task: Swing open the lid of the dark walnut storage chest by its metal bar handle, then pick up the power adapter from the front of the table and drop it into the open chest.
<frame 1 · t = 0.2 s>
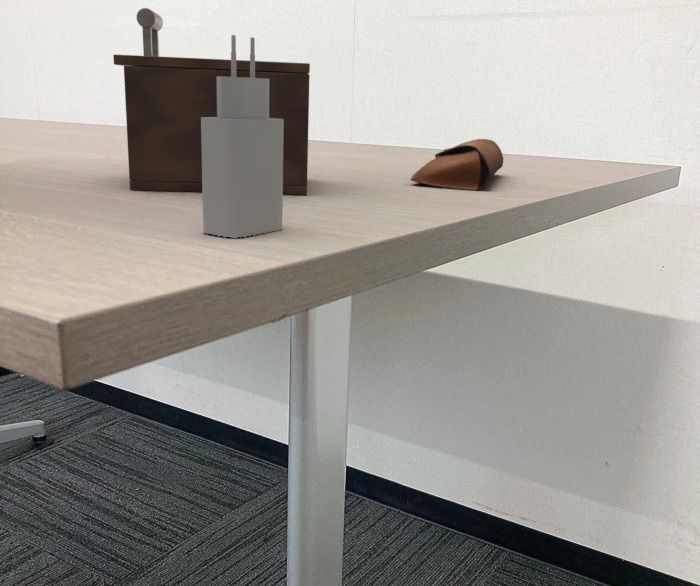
chest: (224, 184, 74), on the table
power adapter: (243, 233, 51), on the table
sunglasses case: (459, 182, 87), on the table
lid: (217, 42, 70), point 13 cm above the table, hinge at 0.0°
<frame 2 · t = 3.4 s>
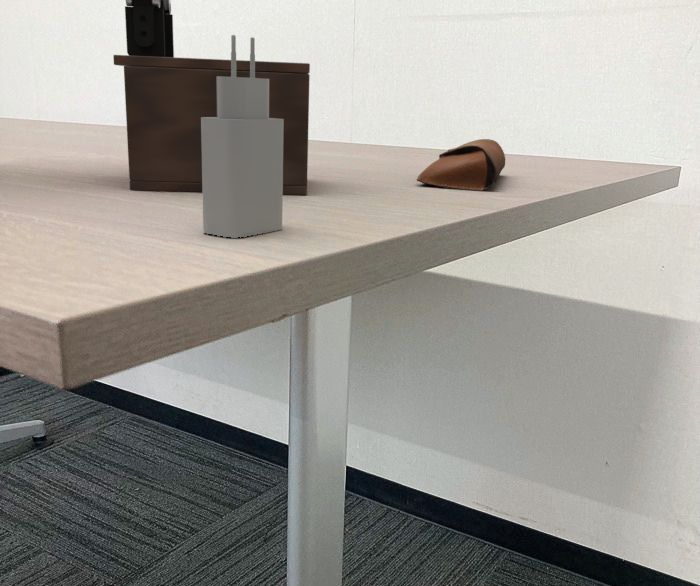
hand: (151, 56, 70), 11 cm above the table, tool pointing down, fingers closed on lid, 5 cm apart
lid: (217, 42, 70), point 13 cm above the table, hinge at -0.1°, touching gripper
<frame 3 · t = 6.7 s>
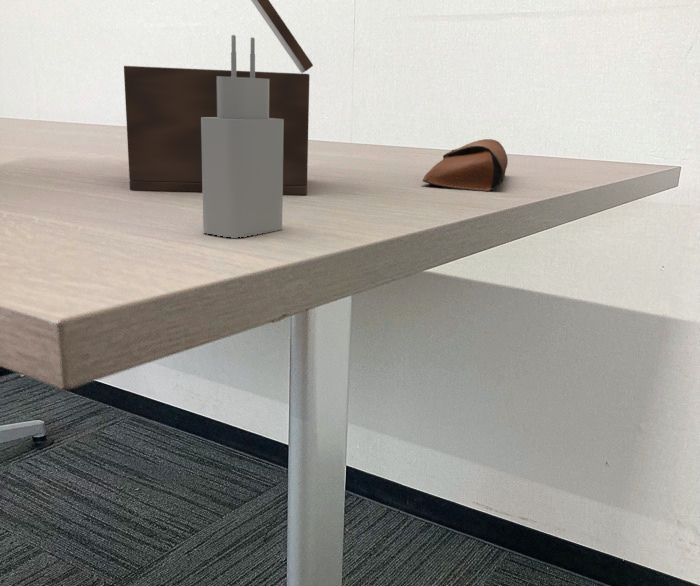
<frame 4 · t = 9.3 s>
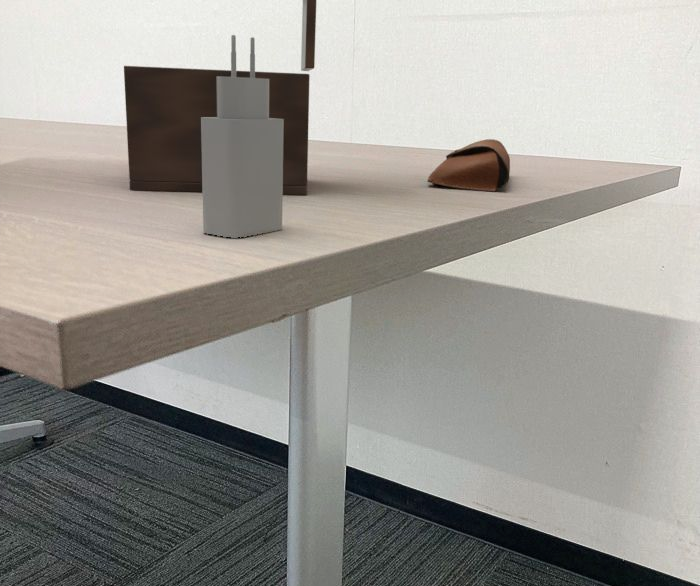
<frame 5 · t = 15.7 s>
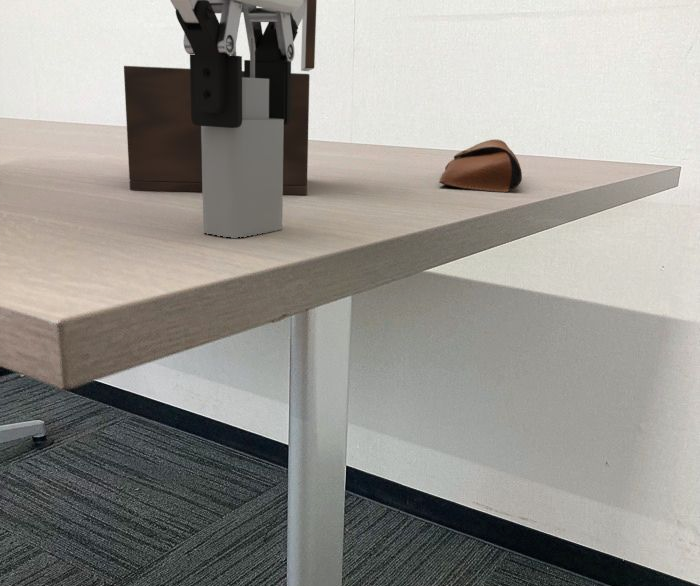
hand: (243, 122, 49), 7 cm above the table, tool pointing down, fingers closed on power adapter, 5 cm apart
power adapter: (243, 233, 51), on the table, touching gripper
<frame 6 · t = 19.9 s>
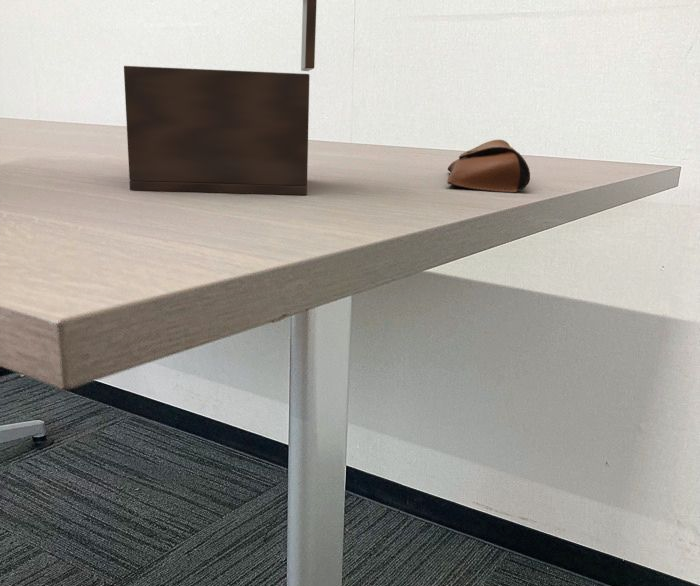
when the fingers open (15 cm above the table, at t = 24.3 s): power adapter drops 7 cm, resting on chest.
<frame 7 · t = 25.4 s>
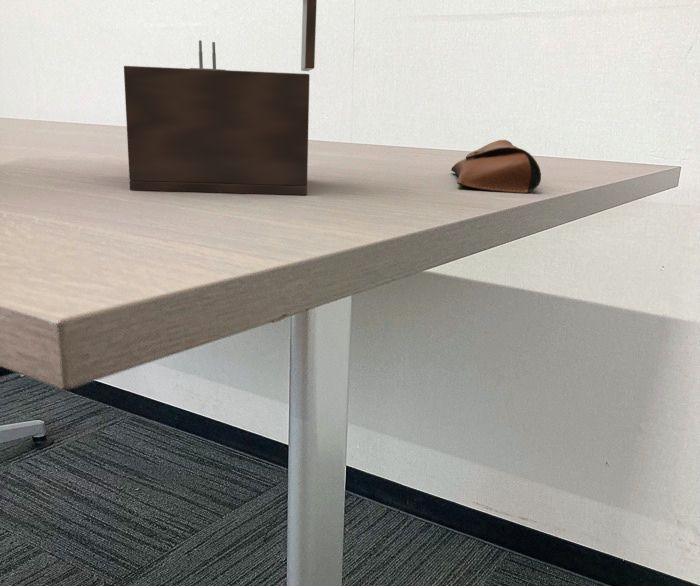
power adapter: (211, 177, 74), point 1 cm above the table, touching chest
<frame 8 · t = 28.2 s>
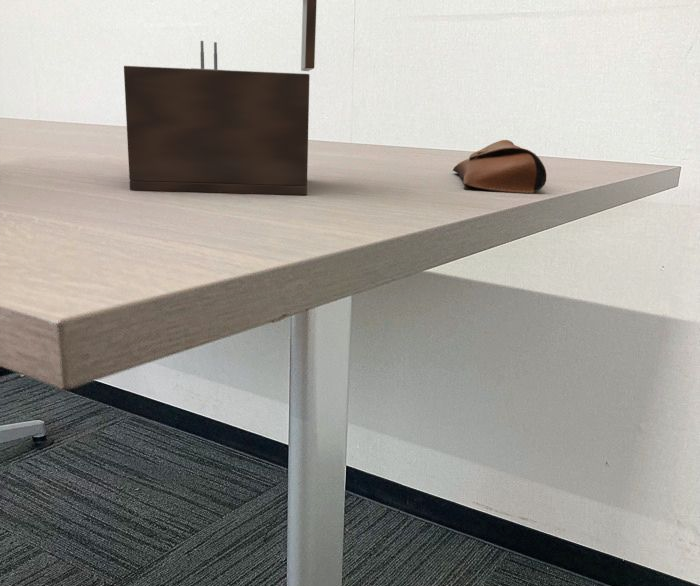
at the end: lid at +90° (first picture: +0°); power adapter inside the target area in the chest (1.2 cm from its centre), point 0.6 cm above the chest's base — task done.
